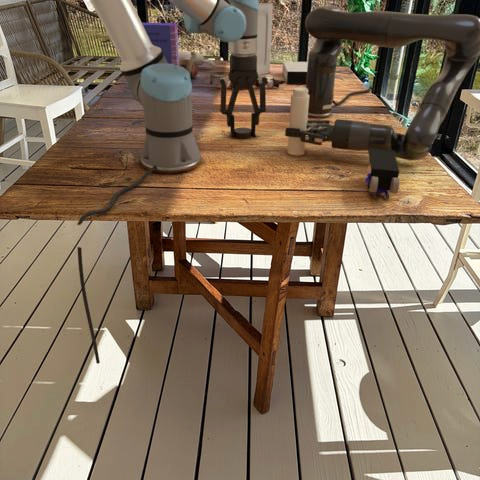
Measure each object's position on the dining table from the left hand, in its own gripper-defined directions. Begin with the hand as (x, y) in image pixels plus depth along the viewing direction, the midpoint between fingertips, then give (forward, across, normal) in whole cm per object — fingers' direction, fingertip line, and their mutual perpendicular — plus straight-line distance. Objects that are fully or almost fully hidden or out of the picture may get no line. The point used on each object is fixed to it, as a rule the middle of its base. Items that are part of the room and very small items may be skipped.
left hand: (243, 136), depth 142 cm
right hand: (-6, +10, -14) cm, 18 cm away
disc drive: (0, +40, +71) cm, 82 cm away
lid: (-1, 0, 0) cm, 1 cm away
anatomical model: (0, -11, +74) cm, 75 cm away
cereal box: (0, -23, +59) cm, 63 cm away
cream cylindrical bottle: (0, +12, -15) cm, 19 cm away
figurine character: (0, +24, -42) cm, 48 cm away
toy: (0, -10, +99) cm, 100 cm away
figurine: (0, +12, +57) cm, 59 cm away
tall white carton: (0, +21, +86) cm, 88 cm away
